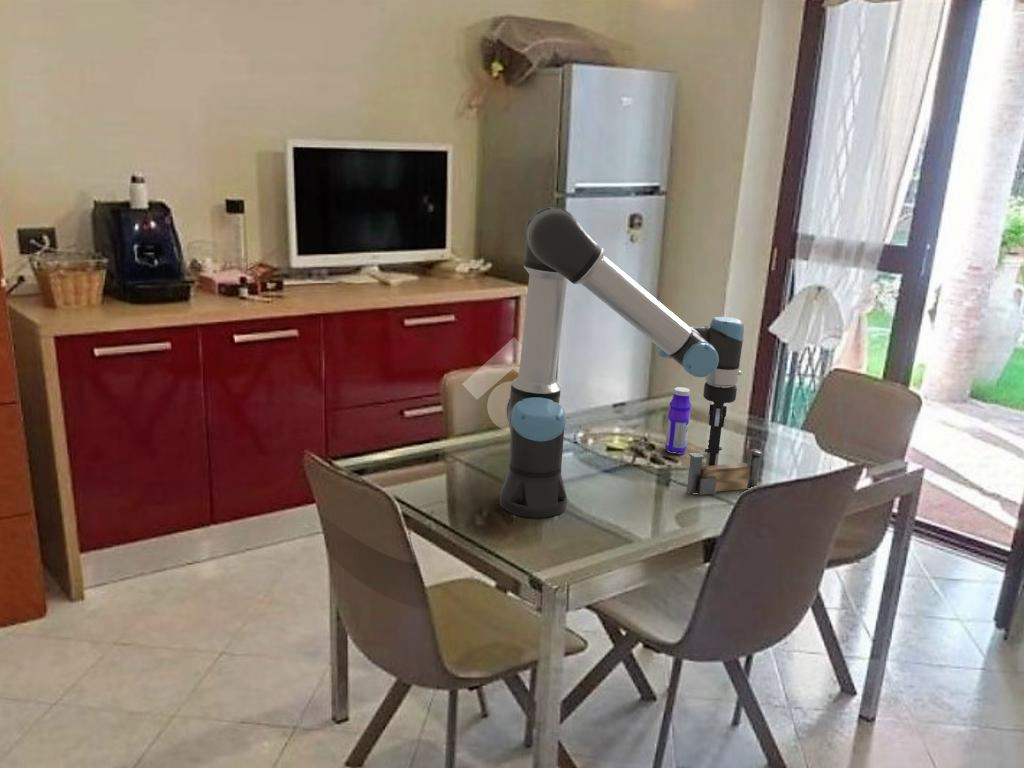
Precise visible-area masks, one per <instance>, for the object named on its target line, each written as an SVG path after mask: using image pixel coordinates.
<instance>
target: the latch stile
mask: <svg viewBox="0 0 1024 768" xmlns="http://www.w3.org/2000/svg"><path fill="white" fill-rule="evenodd" d="M688 456H689V457H690V458H689V467H688V476H687V486H686V492H687V491H688V492H689V493H690V494H689V493H688V492H687V493H688V494H689V495H694V494H693V493H698V494H697V495H698V496H701V495H702V496H703V495H715V494H716V492H715V489H716V481H717V478H716V477H715V476H714V477H700V474H701V466H702V463H703V460H705V456H704V455H703V454H702V453H700V452H690V453H689V454H688Z"/></svg>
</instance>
